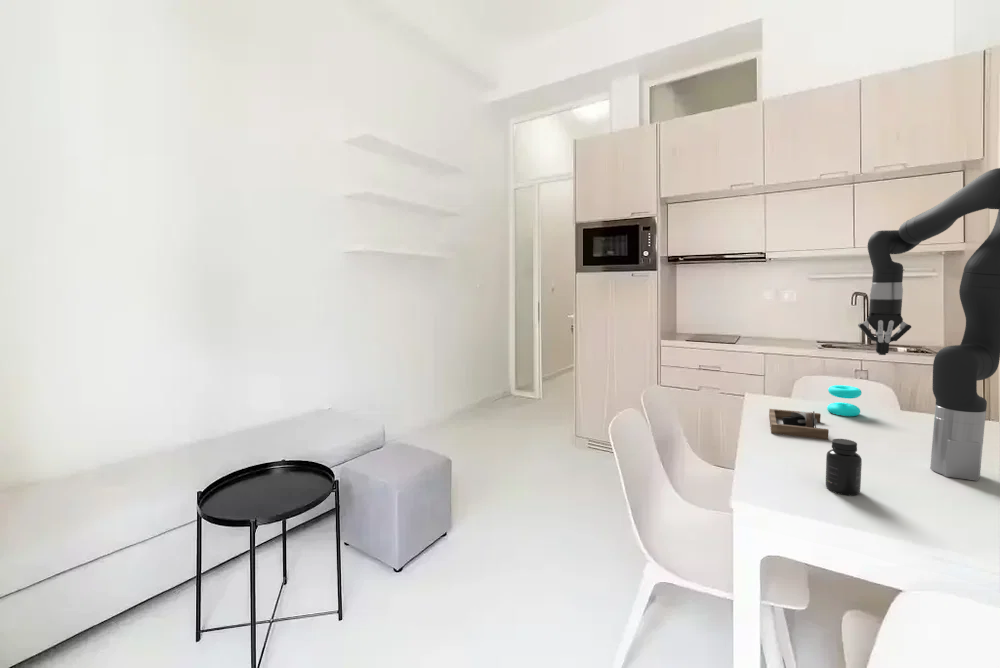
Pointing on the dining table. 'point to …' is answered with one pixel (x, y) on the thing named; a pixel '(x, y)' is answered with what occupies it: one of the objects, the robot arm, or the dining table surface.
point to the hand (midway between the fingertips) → (882, 354)
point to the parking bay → (795, 430)
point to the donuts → (844, 408)
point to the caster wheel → (801, 419)
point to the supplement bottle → (843, 467)
